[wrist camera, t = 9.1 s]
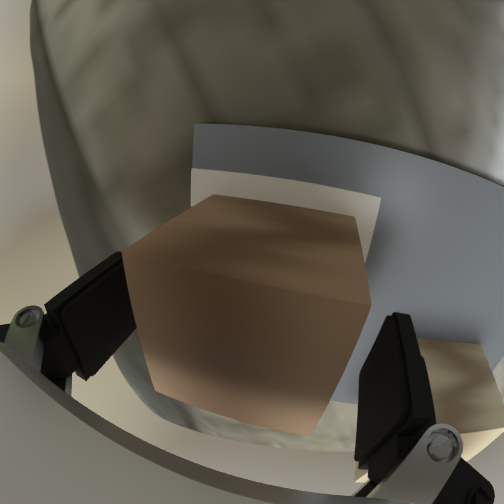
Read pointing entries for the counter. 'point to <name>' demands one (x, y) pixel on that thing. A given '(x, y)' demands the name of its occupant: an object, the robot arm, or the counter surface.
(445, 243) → the build board
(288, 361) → the walnut block
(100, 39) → the counter surface
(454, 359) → the maple block
